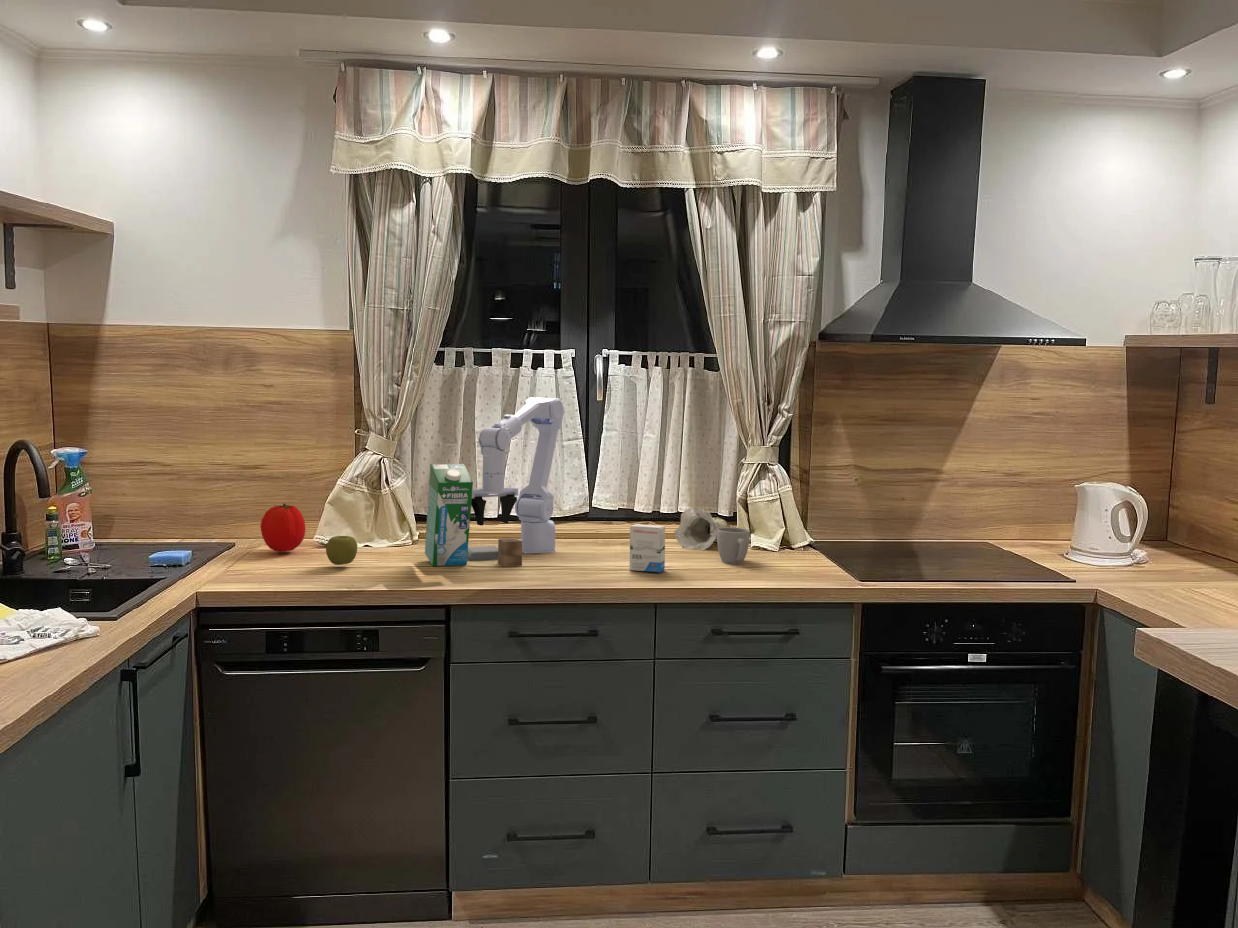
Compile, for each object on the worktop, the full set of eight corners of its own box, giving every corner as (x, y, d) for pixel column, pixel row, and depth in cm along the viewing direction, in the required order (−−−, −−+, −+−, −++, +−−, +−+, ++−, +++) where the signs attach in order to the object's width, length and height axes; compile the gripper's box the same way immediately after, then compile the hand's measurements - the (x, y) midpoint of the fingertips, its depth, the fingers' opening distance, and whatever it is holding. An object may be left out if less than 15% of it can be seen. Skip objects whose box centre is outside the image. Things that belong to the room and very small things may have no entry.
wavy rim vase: (704, 558, 267) (726, 561, 283) (721, 517, 266) (743, 522, 282) (669, 541, 272) (693, 545, 288) (686, 501, 271) (709, 507, 287)
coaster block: (493, 554, 261) (494, 545, 261) (503, 560, 253) (503, 551, 253) (462, 556, 257) (462, 546, 257) (470, 562, 249) (471, 552, 249)
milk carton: (432, 566, 239) (438, 474, 233) (424, 553, 247) (430, 463, 241) (466, 564, 243) (473, 473, 237) (457, 552, 251) (464, 463, 245)
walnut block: (516, 562, 249) (516, 538, 248) (521, 565, 245) (522, 541, 244) (498, 563, 247) (498, 538, 246) (503, 566, 242) (504, 542, 242)
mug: (711, 561, 257) (712, 527, 256) (741, 561, 260) (742, 527, 259) (726, 570, 246) (728, 534, 245) (758, 569, 248) (759, 534, 247)
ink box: (665, 569, 244) (666, 525, 243) (659, 573, 240) (661, 528, 239) (634, 566, 247) (635, 522, 246) (628, 570, 243) (629, 525, 242)
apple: (345, 568, 234) (345, 540, 234) (319, 565, 237) (319, 537, 237) (363, 563, 242) (363, 536, 241) (337, 560, 244) (338, 533, 244)
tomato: (305, 546, 262) (305, 500, 261) (305, 554, 250) (305, 506, 249) (261, 547, 258) (261, 500, 257) (259, 556, 247) (259, 506, 246)
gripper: (508, 470, 253) (507, 519, 254) (461, 472, 244) (461, 523, 245) (522, 472, 248) (522, 523, 249) (475, 475, 239) (474, 527, 240)
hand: (492, 523), depth 247 cm, fingers open, 7 cm apart
